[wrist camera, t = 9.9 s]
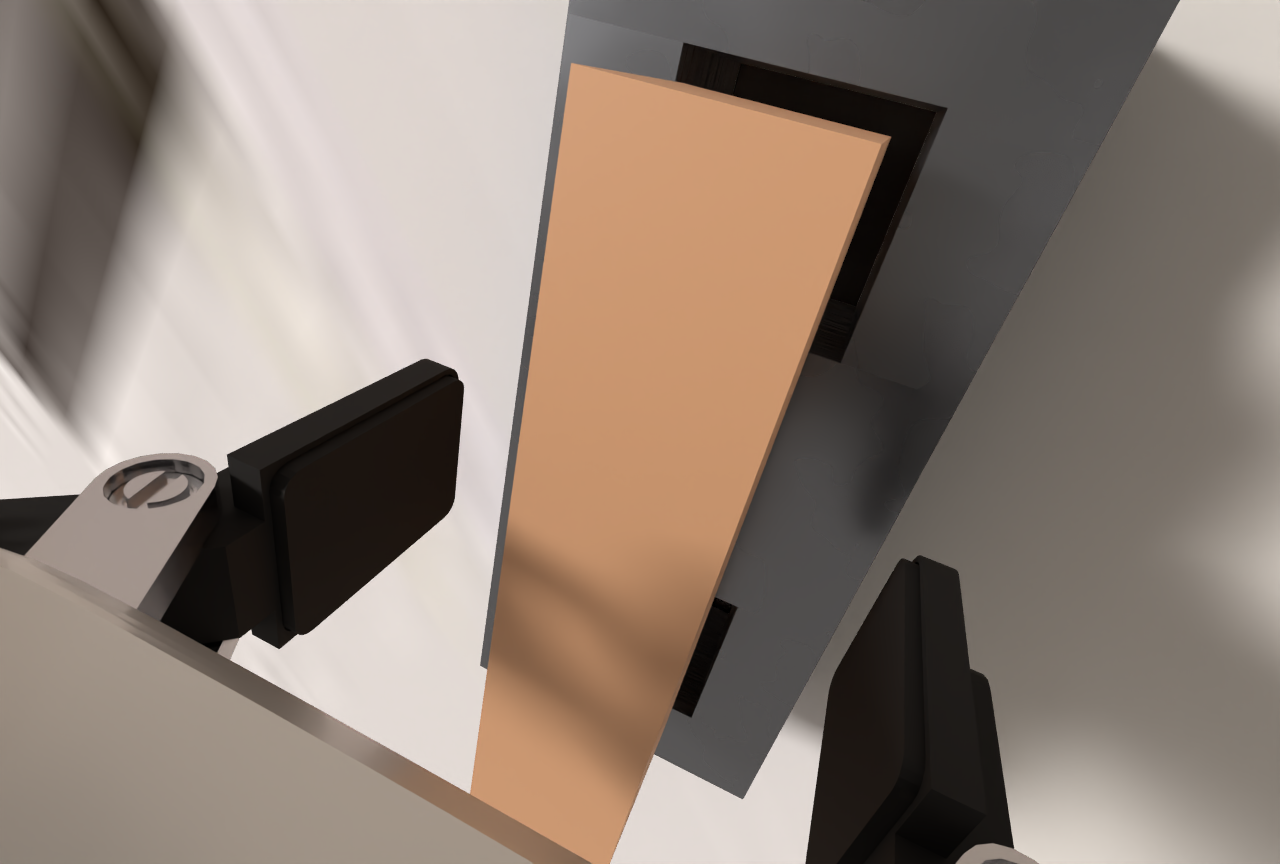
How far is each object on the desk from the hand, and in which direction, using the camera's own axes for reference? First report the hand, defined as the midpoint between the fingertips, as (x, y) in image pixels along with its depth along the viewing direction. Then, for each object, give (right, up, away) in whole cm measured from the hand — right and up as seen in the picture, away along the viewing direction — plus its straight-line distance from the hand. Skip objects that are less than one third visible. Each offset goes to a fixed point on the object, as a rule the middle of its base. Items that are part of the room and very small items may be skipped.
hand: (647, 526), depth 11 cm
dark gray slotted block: (+2, +3, +5) cm, 6 cm away
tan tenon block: (+2, +3, +5) cm, 6 cm away
